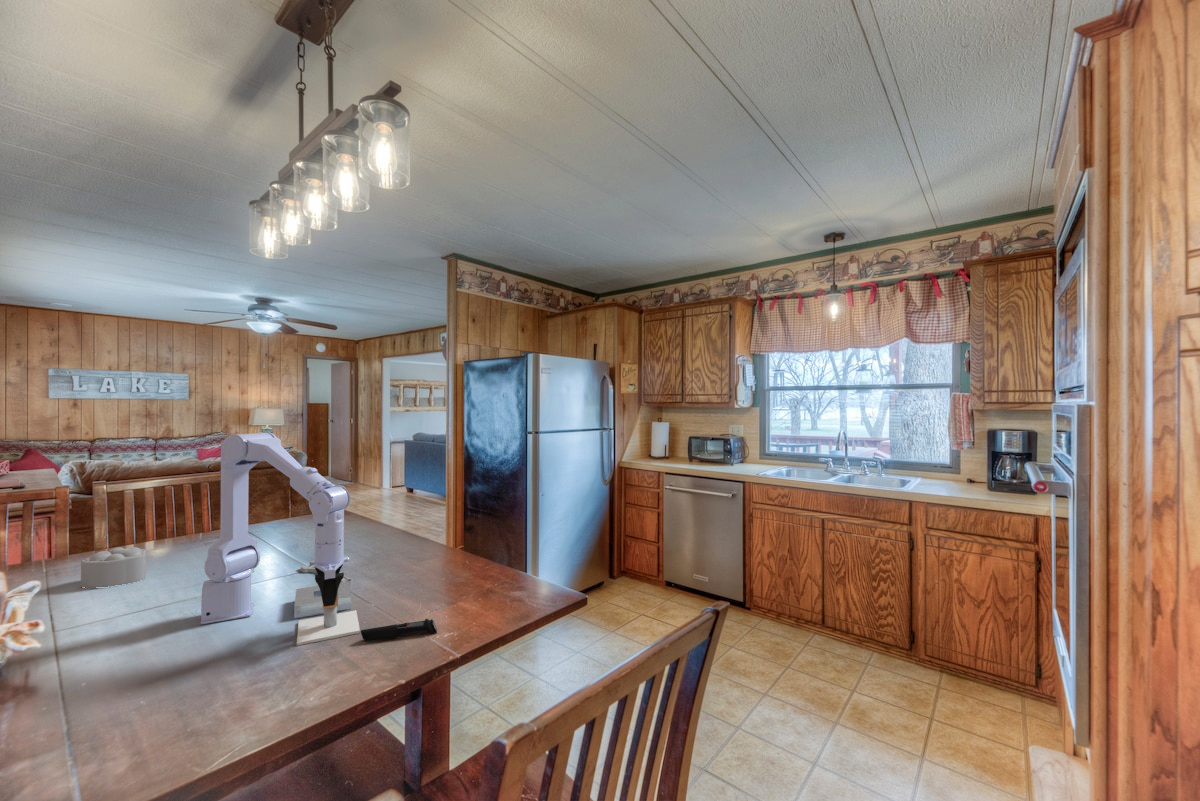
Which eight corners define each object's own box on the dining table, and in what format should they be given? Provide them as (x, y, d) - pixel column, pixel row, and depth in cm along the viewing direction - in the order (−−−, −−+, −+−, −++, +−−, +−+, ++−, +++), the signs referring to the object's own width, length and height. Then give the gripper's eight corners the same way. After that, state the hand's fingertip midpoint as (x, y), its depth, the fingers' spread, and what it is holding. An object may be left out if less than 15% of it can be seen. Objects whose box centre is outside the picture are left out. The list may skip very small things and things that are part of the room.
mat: (296, 645, 105) (296, 642, 105) (298, 623, 115) (298, 620, 115) (359, 633, 111) (359, 630, 111) (356, 612, 121) (356, 610, 121)
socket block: (294, 618, 117) (294, 606, 117) (296, 600, 128) (296, 589, 128) (351, 608, 123) (351, 596, 123) (348, 592, 134) (348, 581, 134)
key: (322, 629, 111) (322, 591, 111) (322, 623, 114) (322, 586, 114) (338, 626, 113) (337, 588, 113) (337, 620, 115) (337, 584, 115)
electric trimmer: (361, 640, 109) (361, 625, 109) (436, 628, 114) (436, 614, 114) (359, 648, 105) (359, 633, 105) (437, 635, 111) (437, 621, 111)
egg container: (145, 581, 140) (145, 550, 140) (78, 593, 131) (78, 560, 131) (145, 571, 148) (145, 542, 148) (82, 582, 139) (83, 551, 139)
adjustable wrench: (355, 585, 140) (355, 579, 140) (330, 592, 135) (331, 585, 135) (319, 565, 156) (319, 559, 156) (296, 570, 151) (296, 564, 151)
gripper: (351, 546, 109) (350, 609, 109) (347, 531, 121) (347, 586, 121) (313, 551, 105) (313, 615, 105) (314, 534, 118) (313, 592, 118)
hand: (328, 600), depth 113 cm, fingers open, 5 cm apart
